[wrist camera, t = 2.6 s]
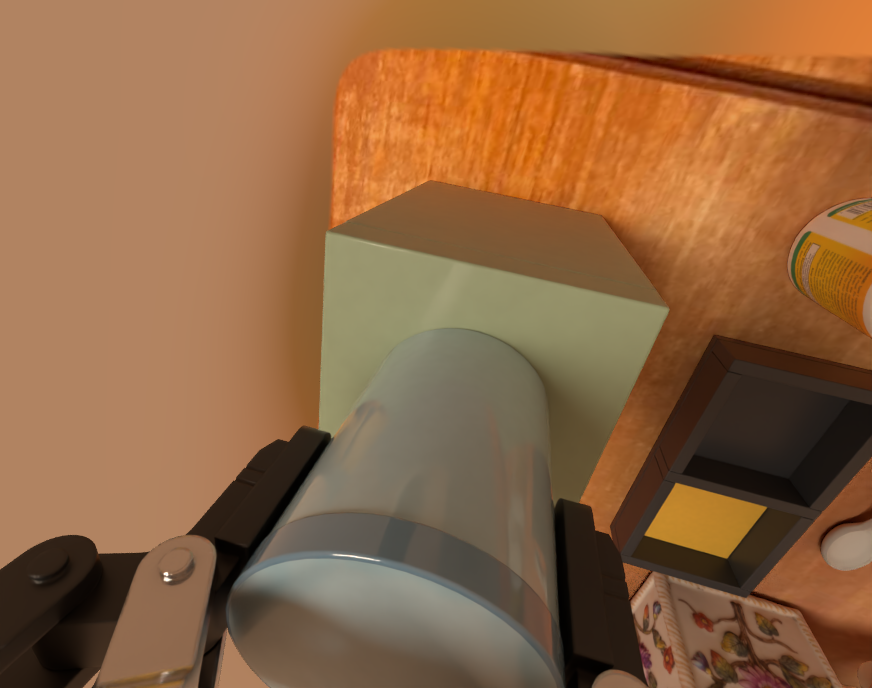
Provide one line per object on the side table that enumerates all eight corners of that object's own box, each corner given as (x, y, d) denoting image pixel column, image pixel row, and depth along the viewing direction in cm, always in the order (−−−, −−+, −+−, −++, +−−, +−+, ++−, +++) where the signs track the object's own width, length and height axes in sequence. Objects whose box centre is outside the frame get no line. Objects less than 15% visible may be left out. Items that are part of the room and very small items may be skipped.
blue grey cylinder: (380, 306, 13) (207, 506, 6) (576, 353, 13) (627, 634, 6) (365, 451, 16) (235, 698, 9) (523, 495, 15) (513, 797, 8)
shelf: (429, 180, 25) (324, 230, 12) (602, 215, 24) (671, 308, 11) (407, 330, 29) (316, 473, 17) (550, 365, 28) (560, 544, 16)
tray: (714, 334, 25) (735, 359, 23) (878, 371, 24) (921, 402, 22) (609, 526, 34) (616, 560, 31) (729, 559, 33) (746, 598, 30)
